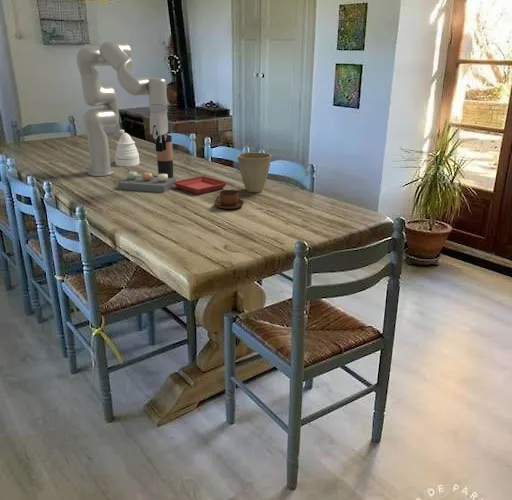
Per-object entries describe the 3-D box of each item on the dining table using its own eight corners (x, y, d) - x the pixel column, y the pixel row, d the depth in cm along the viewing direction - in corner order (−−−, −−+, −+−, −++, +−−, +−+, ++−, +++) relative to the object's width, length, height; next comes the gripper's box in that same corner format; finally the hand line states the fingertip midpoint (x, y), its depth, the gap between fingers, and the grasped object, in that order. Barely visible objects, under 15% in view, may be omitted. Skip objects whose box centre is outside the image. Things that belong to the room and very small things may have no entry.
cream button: (156, 180, 234) (155, 175, 233) (160, 178, 238) (159, 173, 237) (165, 181, 233) (165, 176, 232) (169, 178, 237) (169, 174, 236)
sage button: (125, 178, 237) (125, 173, 236) (130, 176, 241) (129, 171, 240) (134, 179, 236) (134, 174, 235) (139, 176, 240) (138, 172, 239)
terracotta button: (140, 179, 235) (140, 174, 234) (145, 177, 239) (144, 172, 239) (150, 180, 234) (149, 175, 233) (154, 177, 238) (153, 173, 238)
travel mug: (170, 179, 252) (168, 137, 245) (155, 178, 254) (153, 137, 246) (176, 175, 259) (174, 135, 252) (161, 174, 260) (159, 134, 253)
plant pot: (274, 187, 239) (275, 153, 233) (264, 196, 226) (265, 159, 220) (244, 184, 243) (244, 151, 237) (232, 192, 230) (232, 157, 224)
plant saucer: (203, 182, 249) (202, 175, 248) (228, 189, 237) (228, 182, 236) (172, 188, 237) (172, 181, 236) (197, 196, 225) (197, 189, 224)
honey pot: (110, 164, 281) (107, 131, 274) (124, 160, 292) (122, 127, 285) (130, 167, 276) (127, 132, 270) (144, 162, 287) (141, 129, 281)
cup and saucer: (232, 213, 203) (232, 197, 201) (208, 208, 209) (207, 193, 207) (249, 205, 213) (249, 191, 210) (225, 201, 219) (225, 186, 216)
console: (119, 189, 234) (118, 182, 233) (132, 181, 247) (132, 175, 246) (164, 192, 230) (164, 185, 229) (176, 184, 242) (175, 178, 241)
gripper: (158, 105, 232) (160, 147, 239) (142, 109, 217) (145, 153, 224) (173, 106, 230) (175, 147, 237) (159, 110, 215) (161, 154, 222)
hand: (161, 150), depth 230 cm, fingers open, 2 cm apart
